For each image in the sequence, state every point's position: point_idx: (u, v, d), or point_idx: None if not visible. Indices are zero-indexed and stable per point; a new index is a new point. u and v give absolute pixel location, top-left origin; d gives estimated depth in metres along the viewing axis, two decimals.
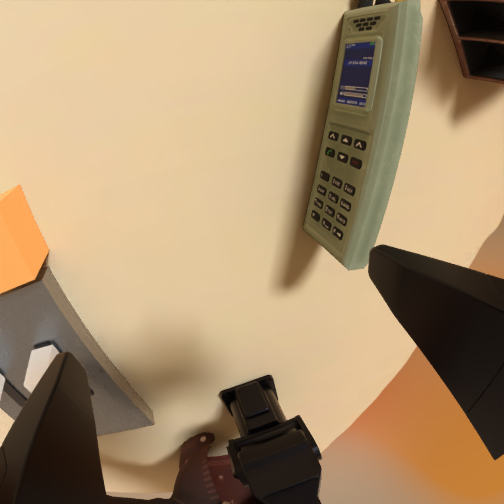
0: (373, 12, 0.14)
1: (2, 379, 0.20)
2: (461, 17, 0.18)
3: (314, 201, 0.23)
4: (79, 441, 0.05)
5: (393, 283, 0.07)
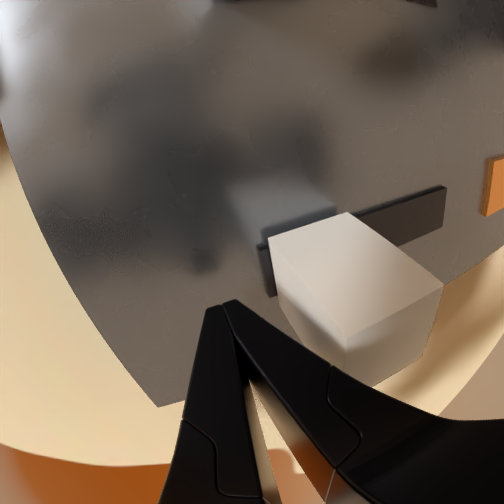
0: None
1: (345, 220, 0.08)
2: None
3: None
4: (251, 399, 0.06)
5: None
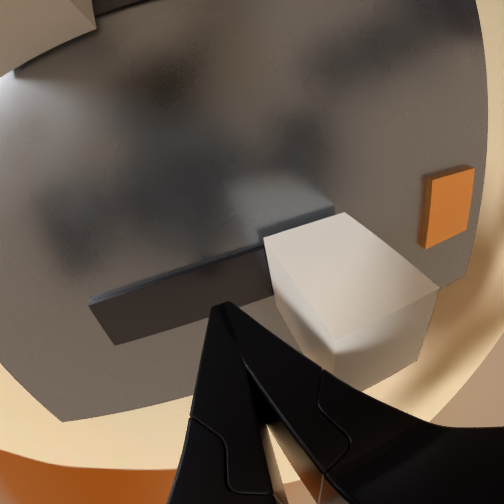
0: None
1: (341, 220, 0.08)
2: None
3: None
4: None
5: None
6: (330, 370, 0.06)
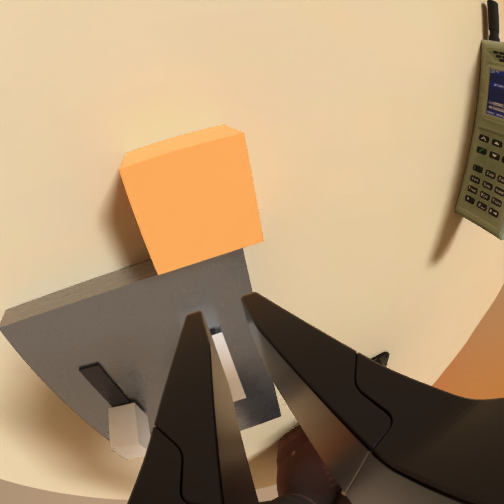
0: None
1: (146, 418, 0.22)
2: None
3: (467, 187, 0.24)
4: (229, 407, 0.06)
5: (258, 340, 0.07)
6: (125, 444, 0.18)
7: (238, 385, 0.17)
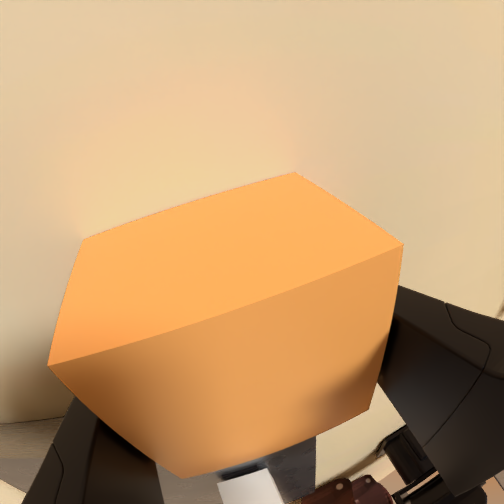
0: None
1: None
2: None
3: None
4: None
5: None
6: None
7: None
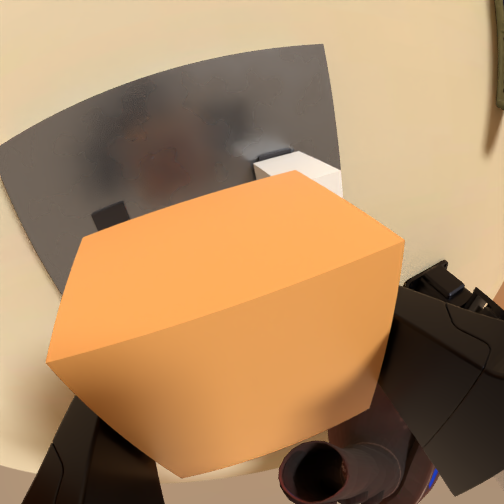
0: None
1: None
2: None
3: (503, 81, 0.19)
4: None
5: None
6: None
7: (338, 190, 0.13)
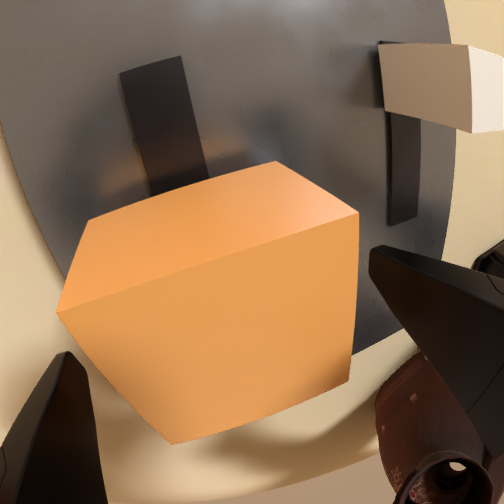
0: None
1: None
2: None
3: None
4: (79, 441, 0.05)
5: (393, 283, 0.07)
6: None
7: None
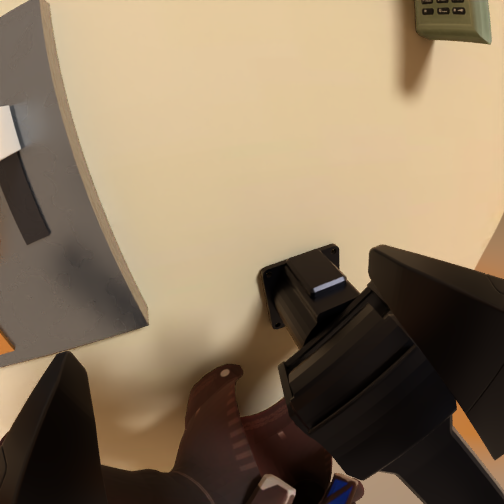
0: None
1: None
2: None
3: (421, 1, 0.14)
4: (79, 441, 0.05)
5: (393, 283, 0.07)
6: None
7: None
